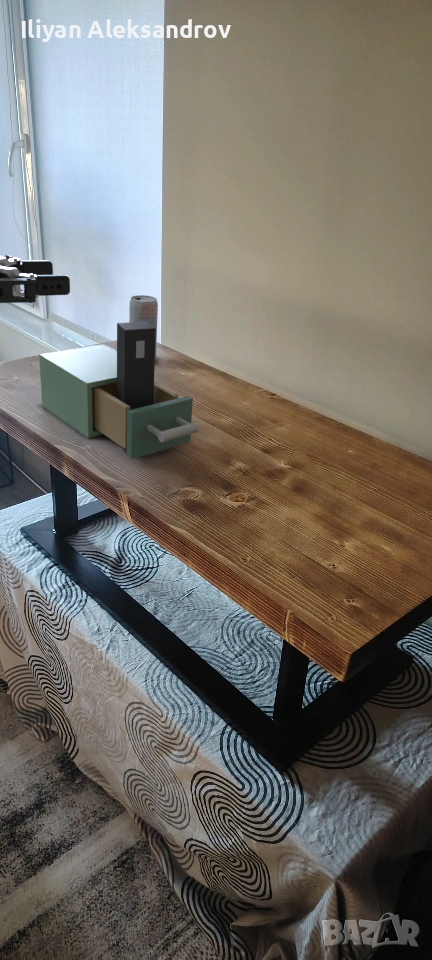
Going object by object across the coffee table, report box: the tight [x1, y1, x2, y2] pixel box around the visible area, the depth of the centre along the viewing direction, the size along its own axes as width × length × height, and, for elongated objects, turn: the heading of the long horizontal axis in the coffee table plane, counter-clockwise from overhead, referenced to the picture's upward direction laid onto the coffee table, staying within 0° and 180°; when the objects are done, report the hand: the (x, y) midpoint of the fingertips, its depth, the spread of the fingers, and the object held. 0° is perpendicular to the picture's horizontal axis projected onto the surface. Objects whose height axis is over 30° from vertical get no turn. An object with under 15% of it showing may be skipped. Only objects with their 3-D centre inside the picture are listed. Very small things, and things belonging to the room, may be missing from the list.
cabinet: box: [38, 343, 117, 439], centre depth 98 cm, size 14×12×9 cm
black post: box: [116, 321, 156, 410], centre depth 89 cm, size 5×5×15 cm
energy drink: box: [128, 294, 159, 361], centre depth 121 cm, size 5×5×12 cm
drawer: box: [92, 381, 200, 460], centre depth 90 cm, size 17×10×7 cm, turn 41°
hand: (60, 276), depth 77 cm, fingers open, 8 cm apart
